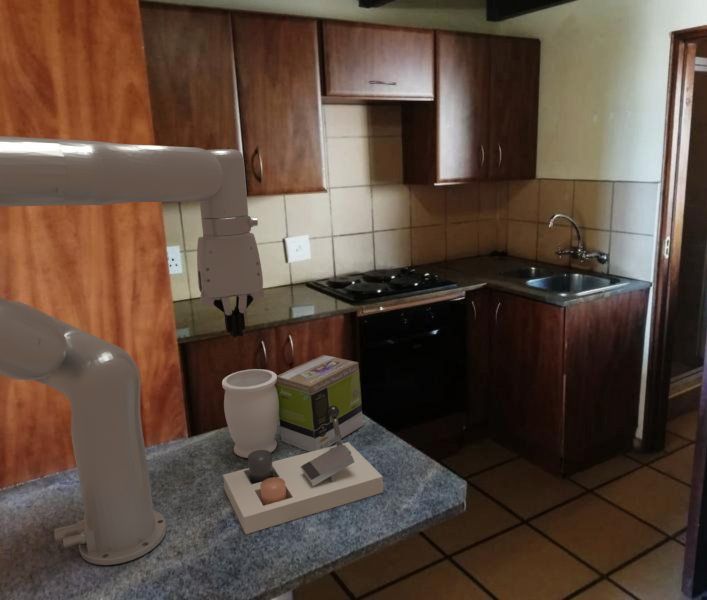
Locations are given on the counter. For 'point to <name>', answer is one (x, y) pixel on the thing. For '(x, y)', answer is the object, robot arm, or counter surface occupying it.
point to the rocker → (327, 464)
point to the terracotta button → (272, 490)
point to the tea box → (319, 402)
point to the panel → (300, 490)
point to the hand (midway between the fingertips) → (236, 334)
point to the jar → (251, 410)
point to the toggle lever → (335, 422)
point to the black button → (260, 466)
